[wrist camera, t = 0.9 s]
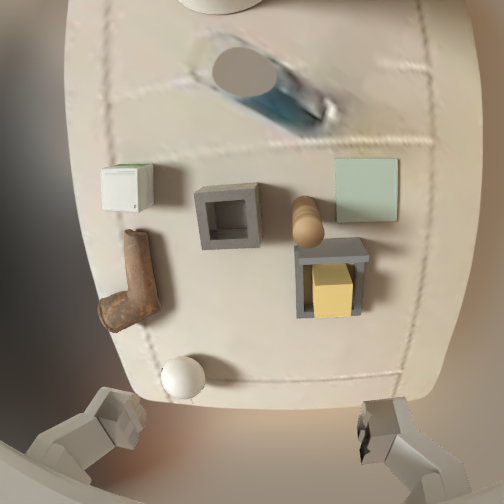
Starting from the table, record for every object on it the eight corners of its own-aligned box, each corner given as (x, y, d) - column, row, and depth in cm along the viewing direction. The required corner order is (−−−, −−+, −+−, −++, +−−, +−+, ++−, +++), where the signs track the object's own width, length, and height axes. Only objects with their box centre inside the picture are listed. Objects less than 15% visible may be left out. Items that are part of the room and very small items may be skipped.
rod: (291, 196, 38) (291, 218, 29) (316, 195, 38) (324, 217, 29) (293, 219, 39) (293, 249, 30) (316, 218, 39) (324, 247, 30)
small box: (154, 162, 39) (138, 168, 34) (155, 204, 41) (139, 214, 36) (117, 162, 39) (98, 168, 35) (119, 202, 41) (101, 212, 37)
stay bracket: (202, 186, 39) (193, 193, 35) (257, 182, 38) (254, 188, 34) (210, 238, 42) (202, 250, 38) (262, 236, 41) (259, 247, 37)
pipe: (142, 235, 38) (75, 239, 37) (161, 343, 44) (101, 340, 43) (155, 221, 43) (94, 225, 43) (168, 319, 50) (113, 318, 49)
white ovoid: (165, 344, 50) (150, 373, 43) (208, 350, 49) (197, 381, 42) (173, 384, 54) (161, 413, 47) (212, 390, 53) (203, 420, 46)
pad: (334, 158, 36) (335, 158, 35) (396, 158, 35) (397, 158, 34) (336, 221, 39) (336, 222, 38) (395, 220, 37) (396, 221, 37)
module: (312, 264, 41) (314, 285, 36) (345, 262, 41) (352, 284, 35) (312, 293, 43) (314, 317, 37) (344, 292, 42) (350, 316, 37)
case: (294, 239, 40) (294, 258, 35) (362, 237, 39) (373, 255, 33) (296, 311, 44) (296, 336, 39) (358, 308, 43) (366, 333, 37)
